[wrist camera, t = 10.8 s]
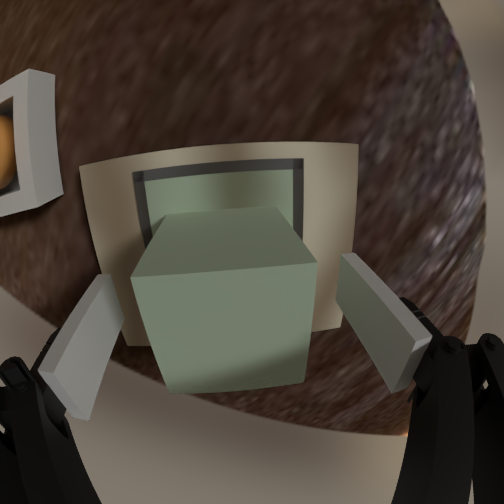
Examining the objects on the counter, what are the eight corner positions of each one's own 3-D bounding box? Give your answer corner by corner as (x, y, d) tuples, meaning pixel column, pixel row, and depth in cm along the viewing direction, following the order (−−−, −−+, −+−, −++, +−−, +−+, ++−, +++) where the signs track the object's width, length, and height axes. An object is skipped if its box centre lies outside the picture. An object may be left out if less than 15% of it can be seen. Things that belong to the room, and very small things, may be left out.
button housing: (-8, 213, 13) (-32, 226, 10) (-18, 114, 10) (-44, 117, 7) (63, 194, 14) (38, 207, 11) (55, 74, 11) (28, 68, 8)
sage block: (182, 305, 17) (169, 393, 11) (166, 214, 14) (130, 277, 8) (275, 298, 17) (304, 382, 11) (275, 205, 15) (317, 262, 9)
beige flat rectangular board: (129, 339, 19) (127, 347, 18) (85, 164, 13) (78, 166, 13) (336, 320, 20) (340, 328, 19) (352, 143, 15) (359, 144, 14)
